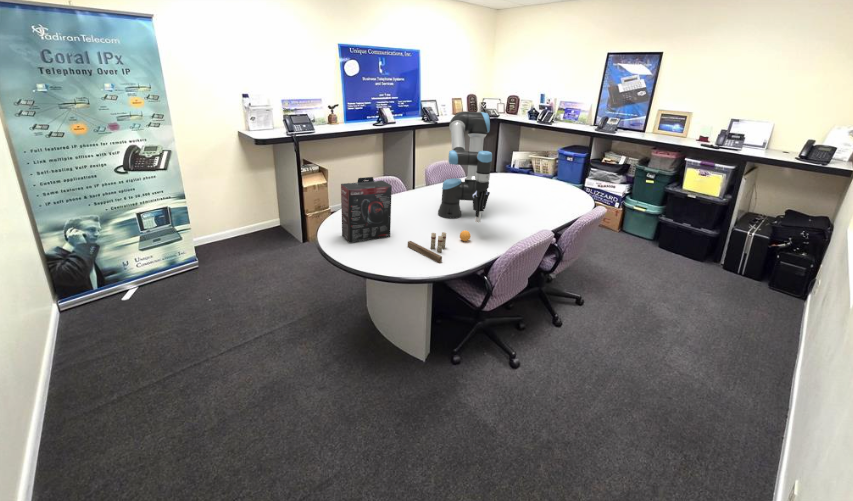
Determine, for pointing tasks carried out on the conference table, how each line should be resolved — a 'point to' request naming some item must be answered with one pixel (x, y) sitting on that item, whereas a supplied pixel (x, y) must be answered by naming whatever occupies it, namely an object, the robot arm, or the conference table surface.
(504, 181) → the conference table surface
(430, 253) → the back wall
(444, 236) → the front pin
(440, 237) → the pin
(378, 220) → the headset box
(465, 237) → the ball
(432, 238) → the pin
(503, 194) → the conference table surface
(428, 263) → the conference table surface
